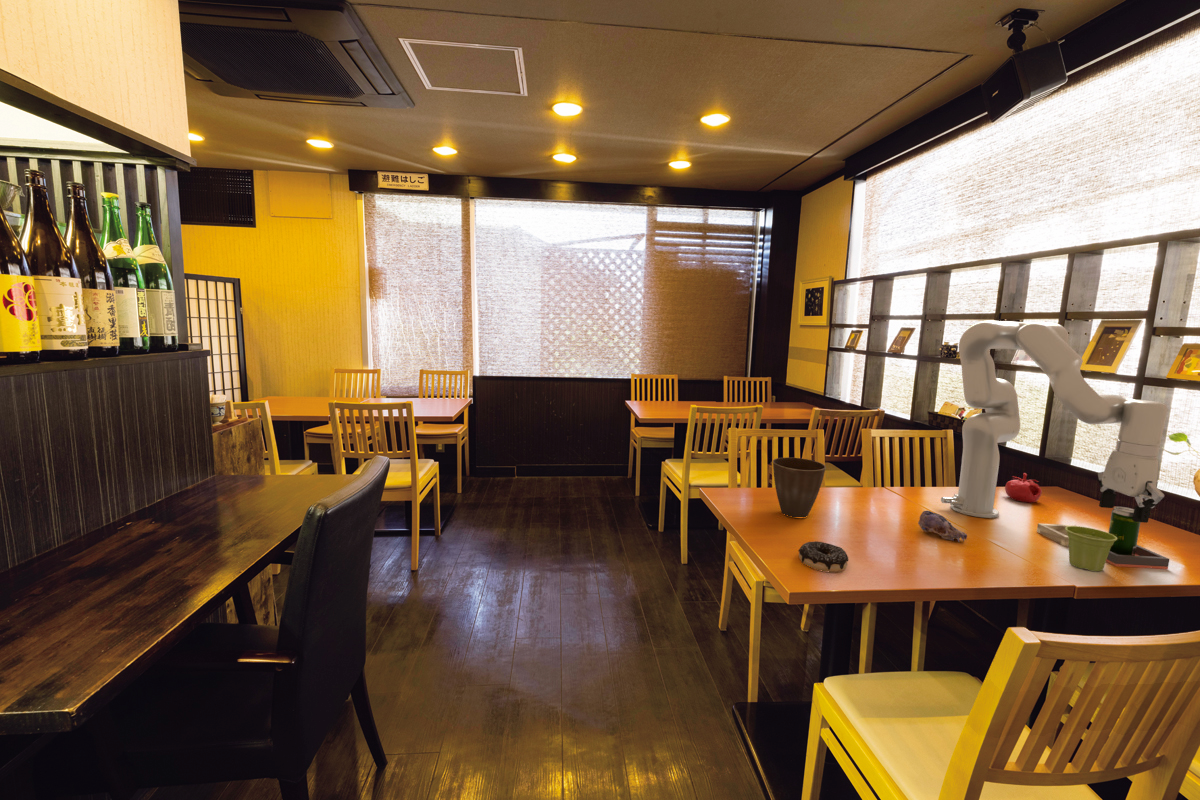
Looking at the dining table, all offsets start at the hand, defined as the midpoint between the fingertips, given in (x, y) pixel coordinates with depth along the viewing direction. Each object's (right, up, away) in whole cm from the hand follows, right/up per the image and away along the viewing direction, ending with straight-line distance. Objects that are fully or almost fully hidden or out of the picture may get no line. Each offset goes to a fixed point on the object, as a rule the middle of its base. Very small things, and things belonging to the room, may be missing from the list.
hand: (1122, 514), depth 136 cm
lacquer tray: (0, -11, +1) cm, 11 cm away
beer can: (0, -11, +1) cm, 11 cm away
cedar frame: (-3, -10, +12) cm, 16 cm away
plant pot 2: (-14, -12, -5) cm, 19 cm away
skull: (-39, -9, +12) cm, 42 cm away
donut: (-80, -11, -8) cm, 81 cm away
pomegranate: (+12, -5, +48) cm, 49 cm away
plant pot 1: (-74, -6, +26) cm, 79 cm away
